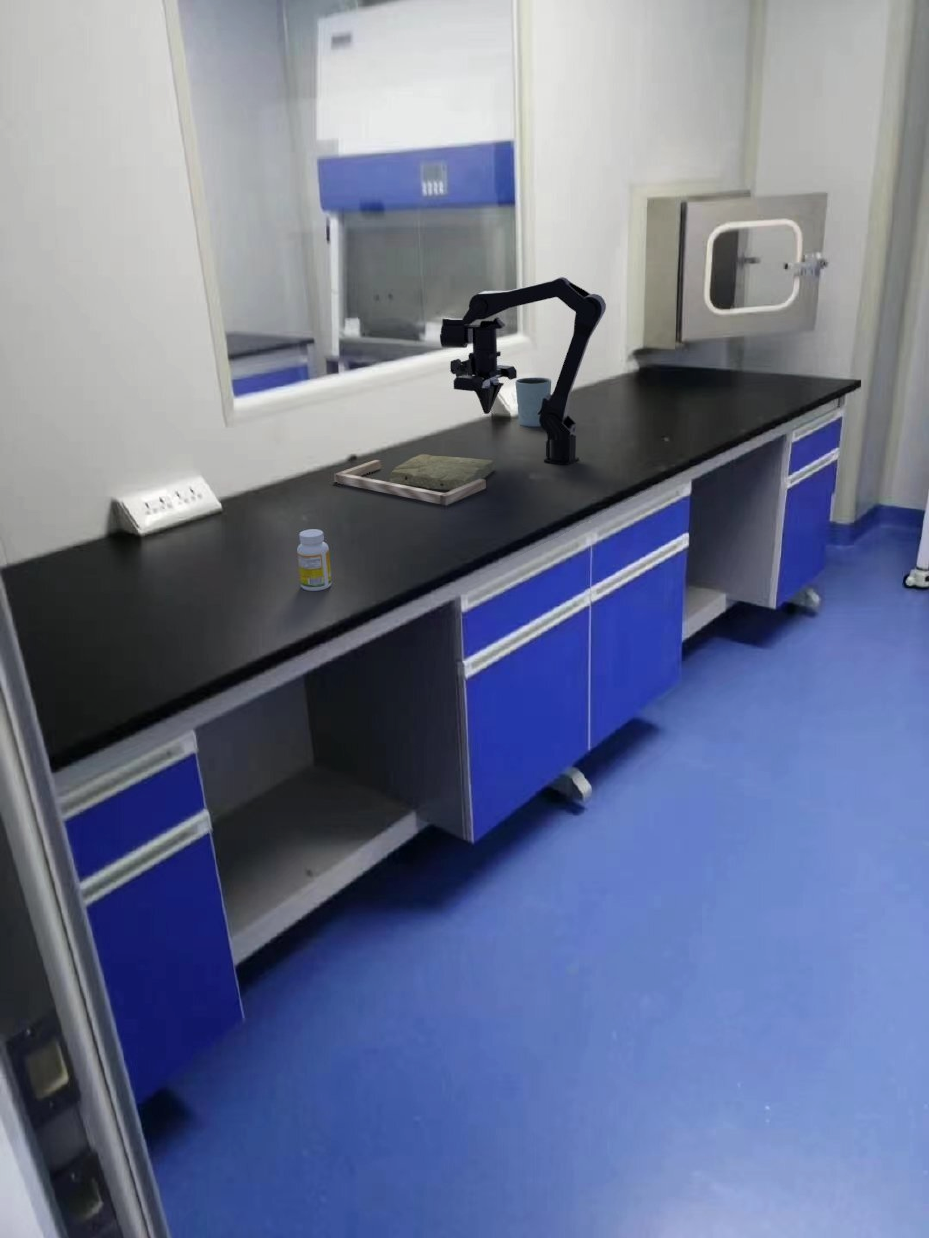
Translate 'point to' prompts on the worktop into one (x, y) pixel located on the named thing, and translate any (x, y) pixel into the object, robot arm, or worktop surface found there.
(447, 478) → the decorative tile
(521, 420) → the light blue cup
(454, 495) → the frame
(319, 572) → the supplement bottle
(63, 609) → the worktop surface
